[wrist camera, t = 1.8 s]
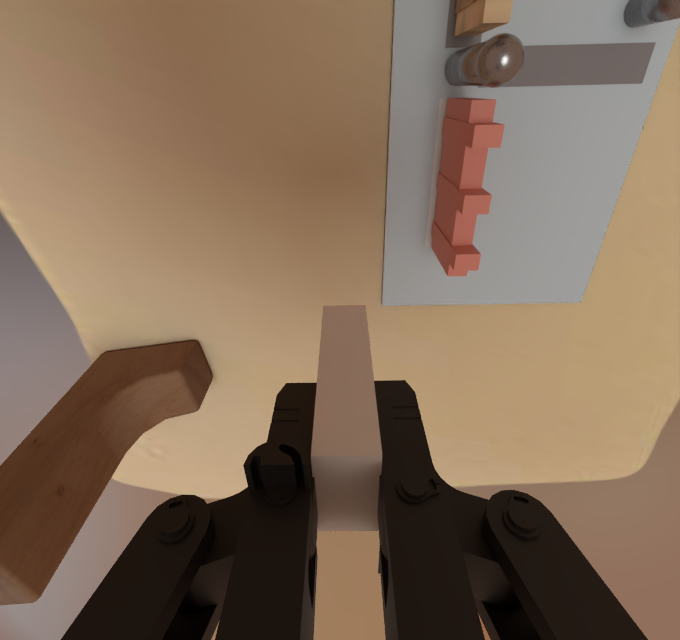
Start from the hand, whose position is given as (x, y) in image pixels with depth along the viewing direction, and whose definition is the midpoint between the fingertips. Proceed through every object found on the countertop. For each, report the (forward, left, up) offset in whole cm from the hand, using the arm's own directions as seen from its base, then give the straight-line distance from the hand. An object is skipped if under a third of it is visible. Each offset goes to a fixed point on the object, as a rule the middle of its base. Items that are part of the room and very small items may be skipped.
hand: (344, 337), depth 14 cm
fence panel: (-3, +7, -15) cm, 17 cm away
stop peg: (-11, +17, -15) cm, 25 cm away
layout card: (-7, +11, -16) cm, 20 cm away
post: (-9, +7, -15) cm, 19 cm away
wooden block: (+13, -17, -16) cm, 27 cm away
